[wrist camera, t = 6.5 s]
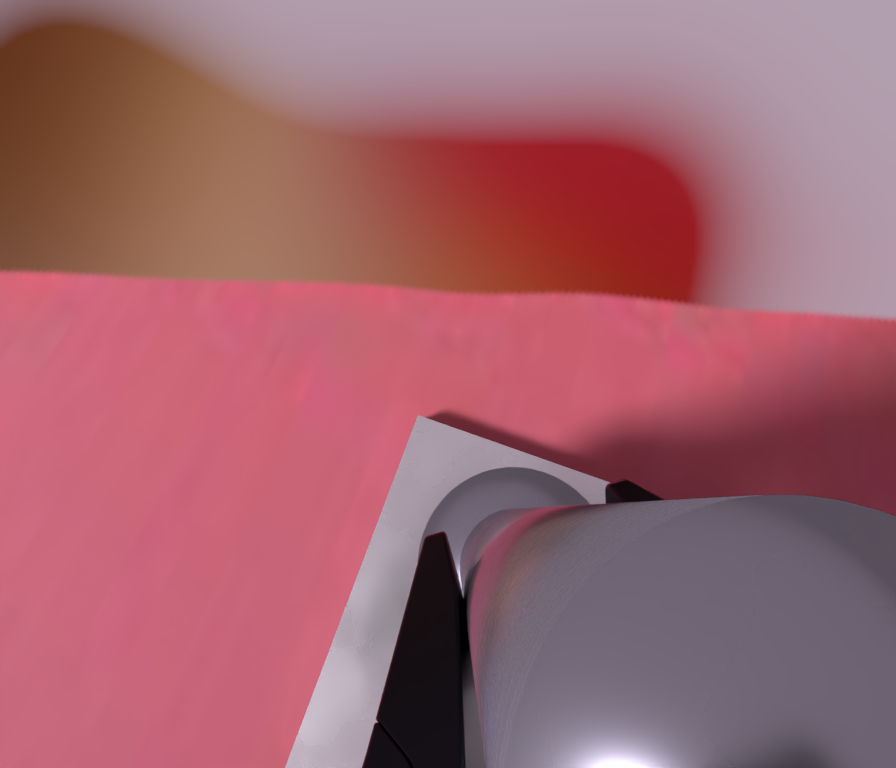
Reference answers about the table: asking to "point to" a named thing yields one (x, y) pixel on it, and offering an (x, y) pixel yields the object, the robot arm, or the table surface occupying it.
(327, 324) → the table surface
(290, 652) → the table surface
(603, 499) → the plate
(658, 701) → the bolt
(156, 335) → the table surface
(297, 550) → the table surface
